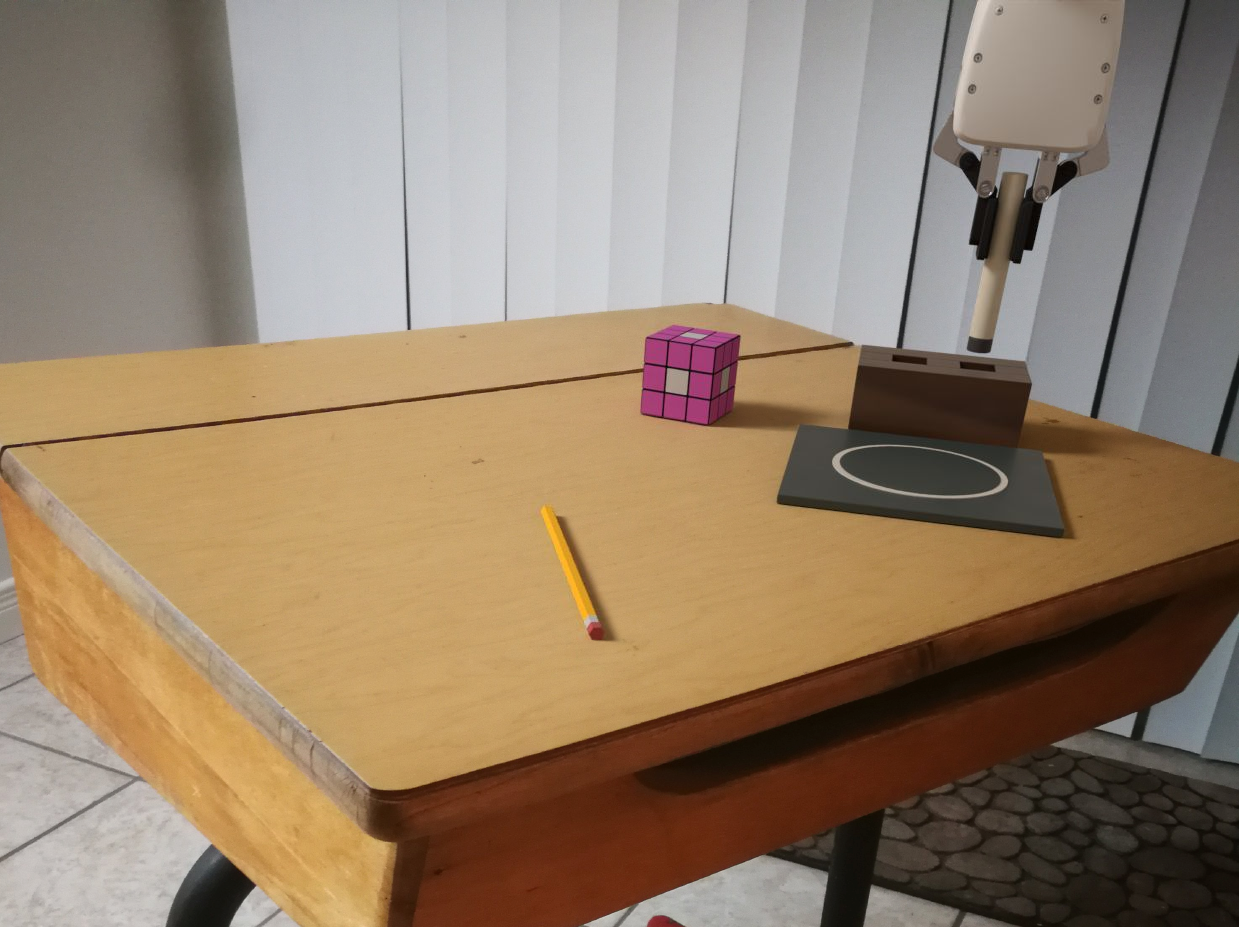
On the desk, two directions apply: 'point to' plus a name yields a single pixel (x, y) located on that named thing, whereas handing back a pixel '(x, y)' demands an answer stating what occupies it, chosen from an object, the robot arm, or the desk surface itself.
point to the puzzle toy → (689, 374)
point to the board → (921, 480)
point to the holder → (940, 396)
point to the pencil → (572, 575)
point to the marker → (997, 262)
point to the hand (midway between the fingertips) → (998, 257)
